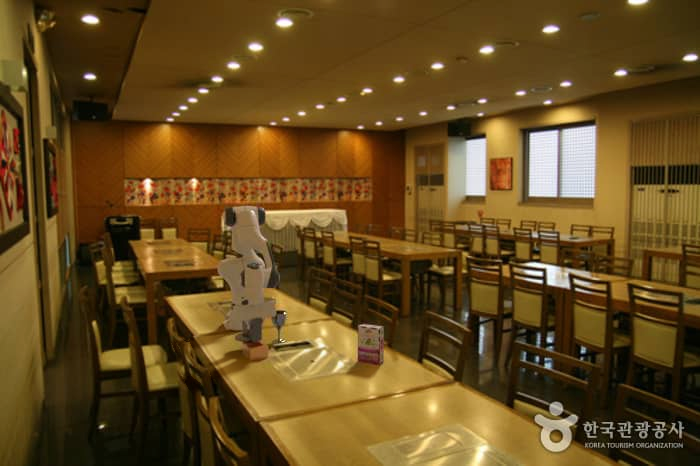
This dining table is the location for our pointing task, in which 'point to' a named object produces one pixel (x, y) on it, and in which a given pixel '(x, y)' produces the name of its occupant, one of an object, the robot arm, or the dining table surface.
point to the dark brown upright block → (255, 329)
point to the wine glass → (279, 323)
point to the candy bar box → (371, 343)
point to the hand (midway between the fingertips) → (255, 328)
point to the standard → (251, 345)
